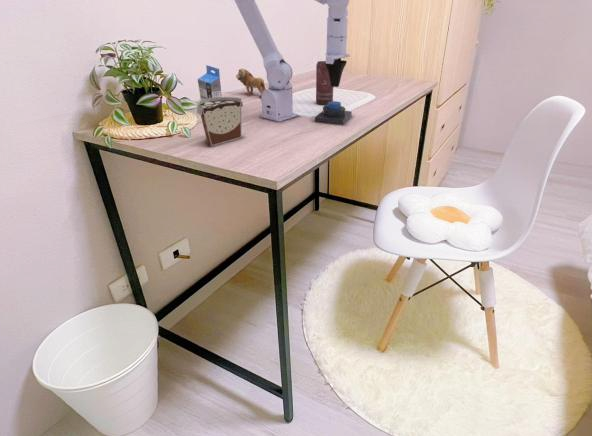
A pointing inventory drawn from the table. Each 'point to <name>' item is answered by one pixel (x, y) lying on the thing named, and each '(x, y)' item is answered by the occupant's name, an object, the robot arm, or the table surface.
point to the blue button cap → (334, 105)
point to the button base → (333, 116)
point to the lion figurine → (250, 81)
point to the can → (323, 84)
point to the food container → (221, 119)
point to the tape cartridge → (210, 84)
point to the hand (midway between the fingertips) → (334, 86)
